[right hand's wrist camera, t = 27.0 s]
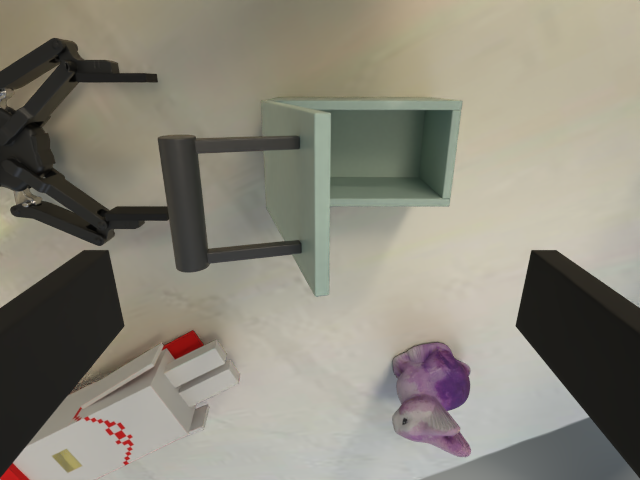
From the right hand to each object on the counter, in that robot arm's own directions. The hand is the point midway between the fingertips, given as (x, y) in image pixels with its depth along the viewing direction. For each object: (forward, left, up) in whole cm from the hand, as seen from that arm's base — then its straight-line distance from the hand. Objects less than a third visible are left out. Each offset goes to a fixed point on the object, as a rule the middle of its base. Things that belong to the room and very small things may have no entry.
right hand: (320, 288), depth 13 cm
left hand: (+7, -14, -30) cm, 34 cm away
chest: (-2, +4, -37) cm, 37 cm away
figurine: (+23, +28, -37) cm, 51 cm away
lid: (+1, -2, -17) cm, 17 cm away
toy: (+43, -9, -37) cm, 57 cm away
